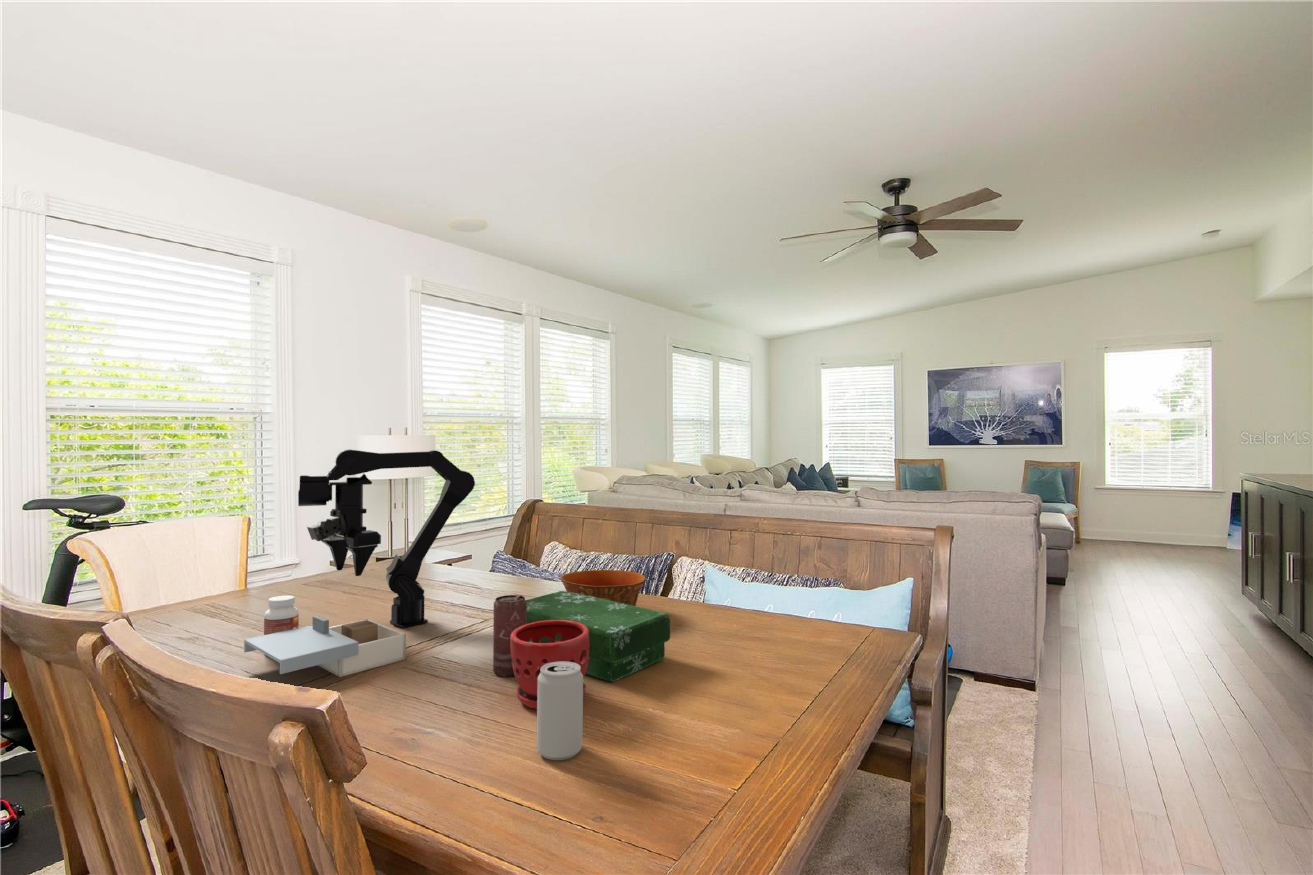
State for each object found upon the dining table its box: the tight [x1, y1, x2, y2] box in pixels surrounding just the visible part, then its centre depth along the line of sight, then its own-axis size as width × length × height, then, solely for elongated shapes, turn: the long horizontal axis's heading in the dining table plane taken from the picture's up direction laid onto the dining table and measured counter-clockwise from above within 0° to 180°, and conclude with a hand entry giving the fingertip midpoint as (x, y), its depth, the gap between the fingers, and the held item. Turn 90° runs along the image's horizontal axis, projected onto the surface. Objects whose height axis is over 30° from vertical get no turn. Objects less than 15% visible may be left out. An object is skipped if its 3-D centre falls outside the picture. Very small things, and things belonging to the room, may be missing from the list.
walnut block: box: [341, 619, 379, 644], centre depth 132 cm, size 5×5×6 cm
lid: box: [243, 615, 358, 675], centre depth 123 cm, size 13×17×5 cm
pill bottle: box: [263, 595, 300, 635], centre depth 135 cm, size 6×6×11 cm
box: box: [525, 590, 671, 683], centre depth 134 cm, size 32×18×10 cm, turn 52°
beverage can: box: [536, 661, 584, 761], centre depth 93 cm, size 6×6×12 cm
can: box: [492, 594, 527, 678], centre depth 124 cm, size 6×6×14 cm
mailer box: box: [317, 618, 407, 678], centre depth 131 cm, size 13×16×5 cm
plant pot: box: [510, 620, 589, 710], centre depth 111 cm, size 13×13×12 cm
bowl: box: [560, 569, 647, 606], centre depth 163 cm, size 21×21×10 cm
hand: (348, 573), depth 150 cm, fingers open, 9 cm apart
